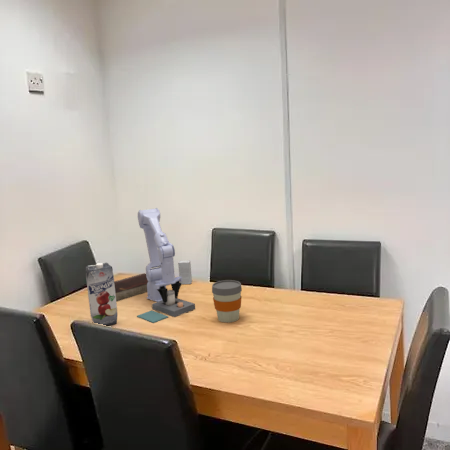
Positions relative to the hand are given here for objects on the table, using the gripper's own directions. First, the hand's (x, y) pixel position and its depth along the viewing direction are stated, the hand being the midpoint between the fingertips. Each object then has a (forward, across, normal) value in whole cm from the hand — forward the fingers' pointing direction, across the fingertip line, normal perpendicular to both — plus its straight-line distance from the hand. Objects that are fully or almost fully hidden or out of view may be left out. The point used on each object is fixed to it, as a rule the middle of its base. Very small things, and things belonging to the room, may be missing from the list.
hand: (170, 300), depth 214 cm
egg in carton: (+3, 0, -7) cm, 8 cm away
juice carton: (+4, -29, +9) cm, 31 cm away
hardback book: (+5, +4, +38) cm, 38 cm away
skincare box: (+4, +29, +23) cm, 37 cm away
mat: (+4, -12, -2) cm, 13 cm away
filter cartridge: (+4, 0, 0) cm, 4 cm away
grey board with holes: (+4, 0, -2) cm, 4 cm away
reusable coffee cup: (+4, +7, -30) cm, 31 cm away
